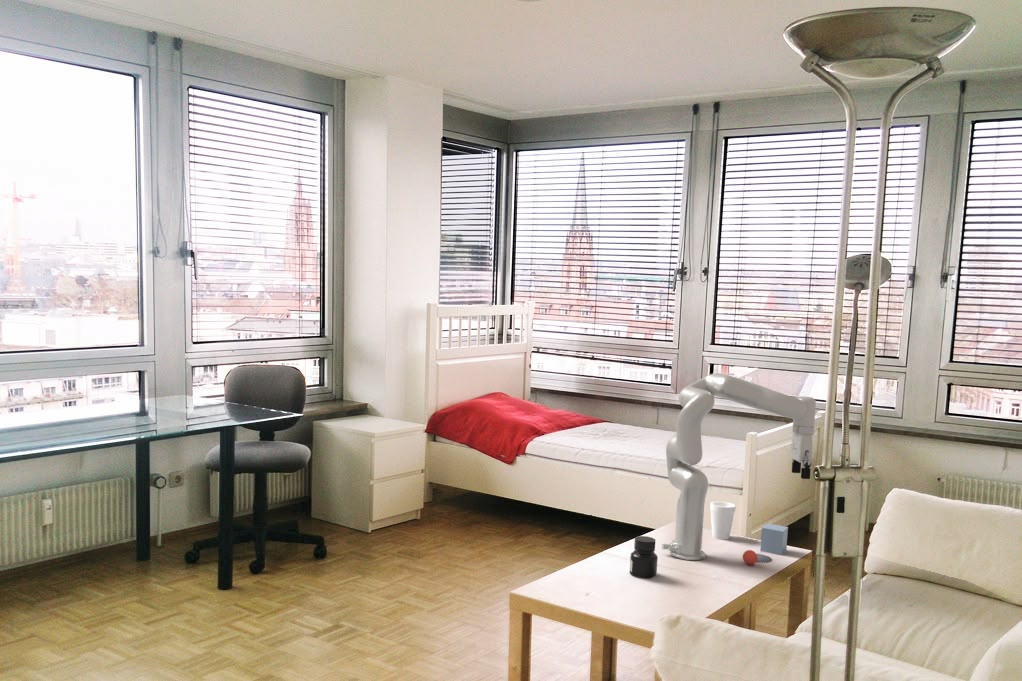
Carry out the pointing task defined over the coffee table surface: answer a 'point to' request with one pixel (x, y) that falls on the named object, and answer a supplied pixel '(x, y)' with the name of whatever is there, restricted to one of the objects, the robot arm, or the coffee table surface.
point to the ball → (750, 557)
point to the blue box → (774, 539)
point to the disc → (763, 558)
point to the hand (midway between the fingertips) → (800, 475)
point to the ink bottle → (643, 558)
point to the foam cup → (721, 519)
